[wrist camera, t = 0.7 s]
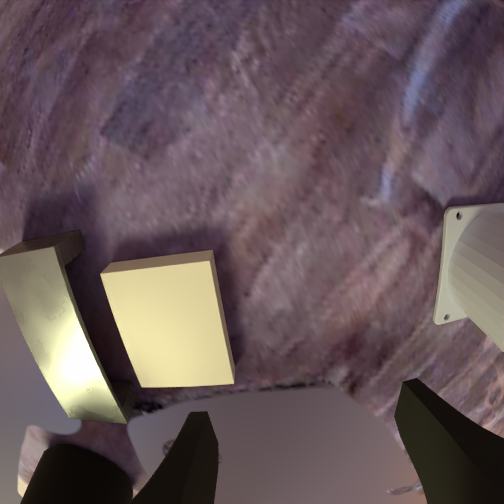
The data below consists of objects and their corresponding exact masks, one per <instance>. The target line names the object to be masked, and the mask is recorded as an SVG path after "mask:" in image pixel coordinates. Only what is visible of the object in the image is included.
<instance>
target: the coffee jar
mask: <svg viewBox="0 0 504 504" xmlns="http://www.w3.org/2000/svg"><path fill="white" fill-rule="evenodd" d="M132 498H133V488H132V485H131V483H130V481H129V478H128V477H127V475H126V474H125V472H124V471H122V470H121V469H120V468H119V467H118V466H116V465H115V464H114V463H112V462H110V461H109V460H107V459H106V458H104V457H102V456H100V455H98V454H96V453H94V452H92V451H90V450H87V449H84V448H81V447H79V446H75V445H70V444H57V445H55V446H52V447H50V448H48V449H47V450H45V451H44V453H43V455H42V457H41V459H40V461H39V463H38V465H37V467H36V469H35V472H34V474H33V476H32V478H31V480H30V483H29V485H28V487H27V489H26V492H25V494H24V496H23V499H22V501H21V503H20V504H128V503H129V502H130V501H131V500H132Z"/></svg>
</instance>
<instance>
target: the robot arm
mask: <svg viewBox="0 0 504 504" xmlns="http://www.w3.org/2000/svg"><path fill="white" fill-rule="evenodd" d="M458 212H459V216H458V217H457V218H456V215H457V213H458ZM445 315H446V317H445ZM465 317H469V318H470V319H471V320H472V321H473V322H474V323H475V324H476V325H477V326H478V327H479V328H480V329H481V330H482V331H483V332H484V333H485V334H486V335H487V336H488V337H489V338H490V339H491V340H492V341H493V342H494V343H495V344H496V345H497V346H498V347H499V348H500V349H501V350H502V351H503V352H504V203H492V204H479V205H467V206H454V207H449V208H447V209H446V211H445V213H444V226H443V241H442V254H441V264H440V273H439V281H438V289H437V296H436V303H435V309H434V315H433V321H434V322H435V323H436V324H437V325H440V324H444V323H448V322H451V321H455V320H458V319H462V318H465ZM394 417H395V421H396V424H397V427H398V430H399V433H400V437H401V439H402V441H403V444H404V446H405V448H406V450H407V452H408V454H409V457H410V459H411V461H412V463H413V465H414V468H415V470H416V472H417V474H418V476H419V479H420V481H421V484H422V486H423V489H424V493H425V496H426V500H427V504H504V438H502V437H500V436H498V435H496V434H494V433H492V432H490V431H488V430H486V429H485V428H483V427H481V426H479V425H478V424H476V423H475V422H473V421H472V420H470V419H469V418H467V417H466V416H464V415H463V414H461V413H460V412H459V411H457V410H456V409H455V408H453V407H452V406H451V405H450V404H448V403H447V402H446V401H444V400H443V399H442V398H441V397H439V396H438V395H437V394H436V393H435V392H433V391H432V390H431V389H430V388H429V387H427V386H426V385H425V384H424V383H422V382H421V381H420V380H419V379H418V378H415V379H411V380H407V381H404V382H403V383H402V387H401V391H400V396H399V400H398V404H397V407H396V411H395V415H394ZM217 474H218V441H217V438H216V435H215V432H214V430H213V427H212V424H211V421H210V418H209V415H208V412H206V411H205V412H191V413H189V414H188V417H187V419H186V421H185V423H184V425H183V427H182V429H181V431H180V432H179V435H178V436H177V438H176V440H175V442H174V443H173V445H172V447H171V448H170V450H169V452H168V453H167V455H166V456H165V458H164V460H163V461H162V463H161V464H160V466H159V467H158V468H157V470H156V471H155V473H154V474H153V475H152V477H151V478H150V479H149V481H148V482H147V483H146V484H145V486H144V487H143V488H142V489H141V490H140V492H139V493H138V494H137V495H136V496H135V497H134V498H133V499H132V500H131V501H130V502H129V503H128V504H214V499H215V490H216V482H217Z"/></svg>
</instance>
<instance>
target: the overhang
mask: <svg viewBox="0 0 504 504" xmlns="http://www.w3.org/2000/svg"><path fill="white" fill-rule="evenodd" d="M84 250H85V247H84V243H83V239H82V235H81V231H80V230H77V231H71V232H66V233H61V234H56V235H51V236H46V237H41V238H37V239H32V240H27V241H22V242H20V243H18V244H17V245H15V246H13V247H11V248H10V249H8V250H6V251H5V252H3V253H1V254H0V279H1V282H2V285H3V288H4V290H5V293H6V295H7V298H8V301H9V303H10V306H11V308H12V311H13V313H14V315H15V318H16V320H17V323H18V325H19V327H20V329H21V332H22V334H23V335H24V338H25V340H26V342H27V344H28V346H29V348H30V351H31V353H32V354H33V356H34V359H35V360H36V362H37V364H38V366H39V368H40V370H41V372H42V374H43V375H44V377H45V379H46V381H47V383H48V384H49V386H50V388H51V390H52V391H53V393H54V395H55V396H56V398H57V399H58V401H59V403H60V404H61V406H62V408H63V409H64V411H65V412H66V414H67V415H68V417H69V418H74V419H82V420H91V421H100V422H111V423H125V424H128V421H129V418H130V415H131V412H132V409H133V406H134V404H135V401H136V398H137V395H138V394H137V391H136V389H135V387H134V385H133V383H132V382H109V380H108V378H107V376H106V374H105V372H104V369H103V367H102V365H101V363H100V361H99V358H98V356H97V354H96V352H95V349H94V347H93V345H92V342H91V340H90V337H89V335H88V333H87V330H86V328H85V325H84V322H83V320H82V317H81V315H80V312H79V309H78V307H77V304H76V301H75V298H74V295H73V292H72V289H71V286H70V283H69V280H68V277H67V274H66V271H65V268H64V266H65V265H66V264H68V263H69V262H70V261H71V260H73V259H74V258H75V257H76V256H78V255H79V254H80V253H81V252H83V251H84Z"/></svg>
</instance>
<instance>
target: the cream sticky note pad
mask: <svg viewBox="0 0 504 504" xmlns="http://www.w3.org/2000/svg"><path fill="white" fill-rule="evenodd" d="M100 275H101V278H102V281H103V285H104V288H105V291H106V294H107V297H108V300H109V303H110V306H111V309H112V312H113V315H114V318H115V321H116V324H117V327H118V329H119V332H120V335H121V338H122V340H123V343H124V345H125V348H126V351H127V353H128V356H129V358H130V361H131V363H132V366H133V368H134V370H135V373H136V375H137V378H138V380H139V382H140V384H141V387H187V386H207V385H222V384H234V374H235V366H234V361H233V356H232V351H231V346H230V341H229V336H228V331H227V326H226V320H225V315H224V310H223V305H222V299H221V294H220V288H219V283H218V277H217V272H216V266H215V260H214V254H213V250H207V251H199V252H191V253H183V254H175V255H167V256H159V257H151V258H144V259H136V260H128V261H120V262H113V263H110V264H109V265H108V266H107V267H106V268H105V269H104V270H103V271H102V273H101V274H100Z"/></svg>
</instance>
